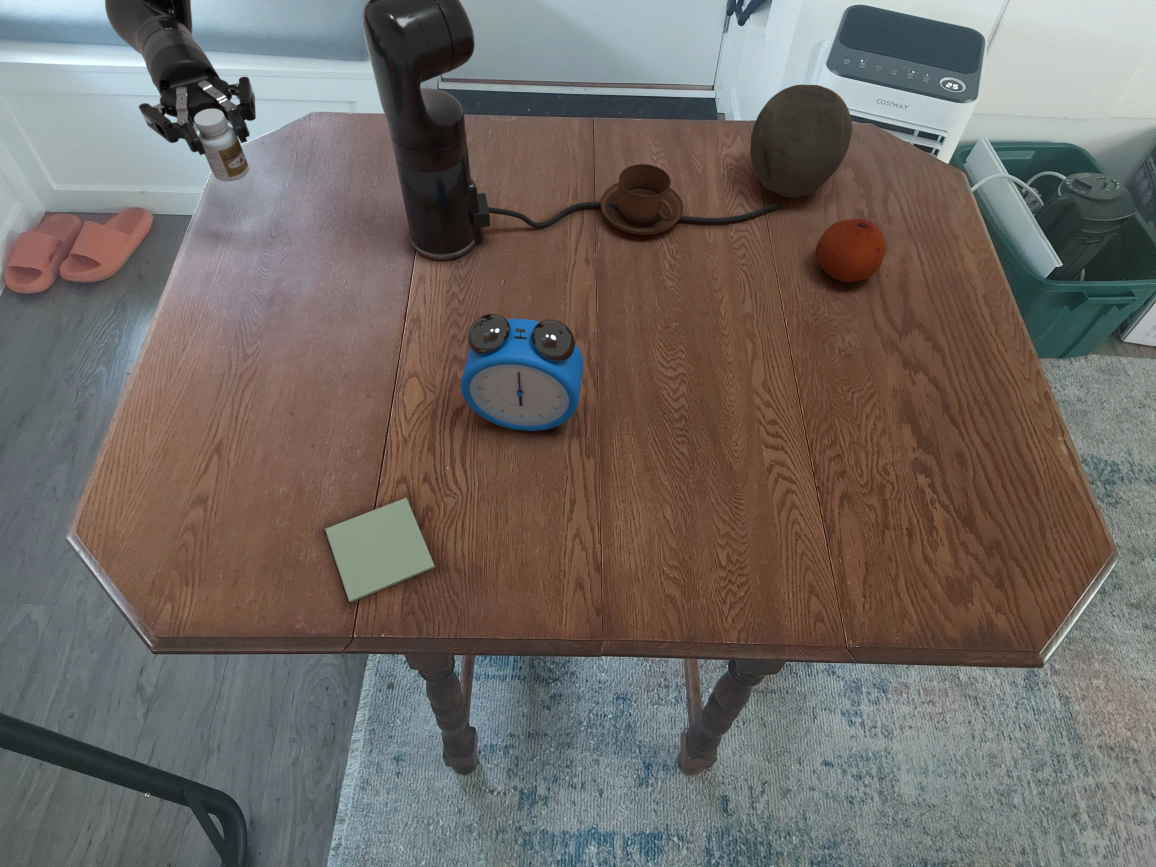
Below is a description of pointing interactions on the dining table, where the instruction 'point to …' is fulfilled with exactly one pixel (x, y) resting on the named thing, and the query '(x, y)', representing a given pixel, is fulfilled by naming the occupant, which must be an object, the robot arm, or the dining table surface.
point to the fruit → (851, 250)
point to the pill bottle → (221, 145)
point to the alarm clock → (522, 372)
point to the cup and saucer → (642, 201)
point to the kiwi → (800, 139)
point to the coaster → (379, 549)
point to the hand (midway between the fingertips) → (221, 141)
